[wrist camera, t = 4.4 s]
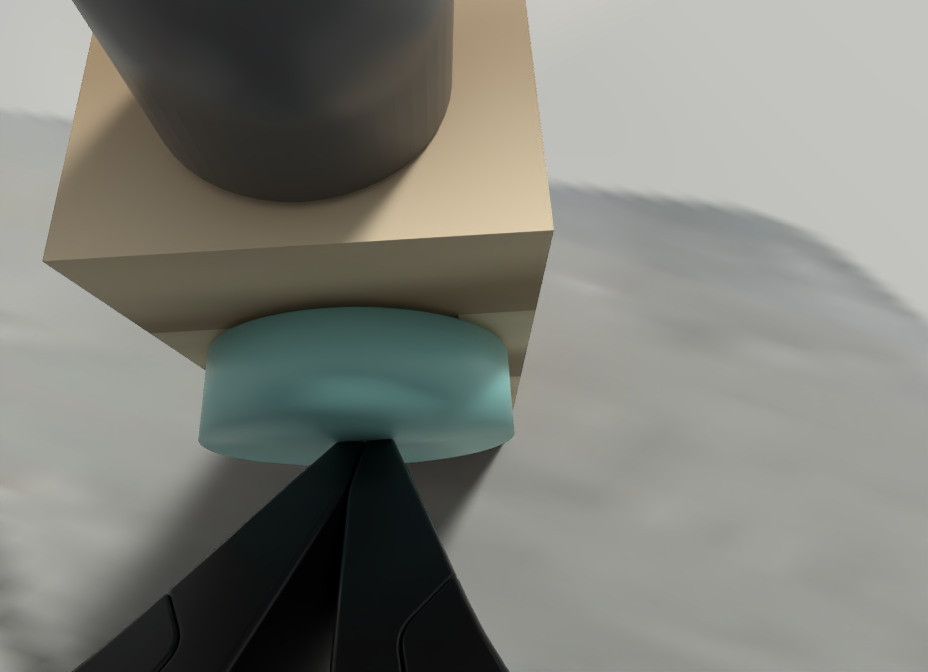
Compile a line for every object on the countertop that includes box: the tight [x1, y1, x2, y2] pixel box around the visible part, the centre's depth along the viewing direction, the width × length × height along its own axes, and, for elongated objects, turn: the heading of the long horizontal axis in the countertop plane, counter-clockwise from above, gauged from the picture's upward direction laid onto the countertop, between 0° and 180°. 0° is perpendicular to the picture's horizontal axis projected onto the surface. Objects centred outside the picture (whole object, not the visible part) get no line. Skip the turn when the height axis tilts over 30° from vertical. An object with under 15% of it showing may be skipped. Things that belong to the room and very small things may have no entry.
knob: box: [198, 307, 514, 465], centre depth 10 cm, size 6×4×4 cm
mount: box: [43, 0, 554, 411], centre depth 12 cm, size 4×5×11 cm
